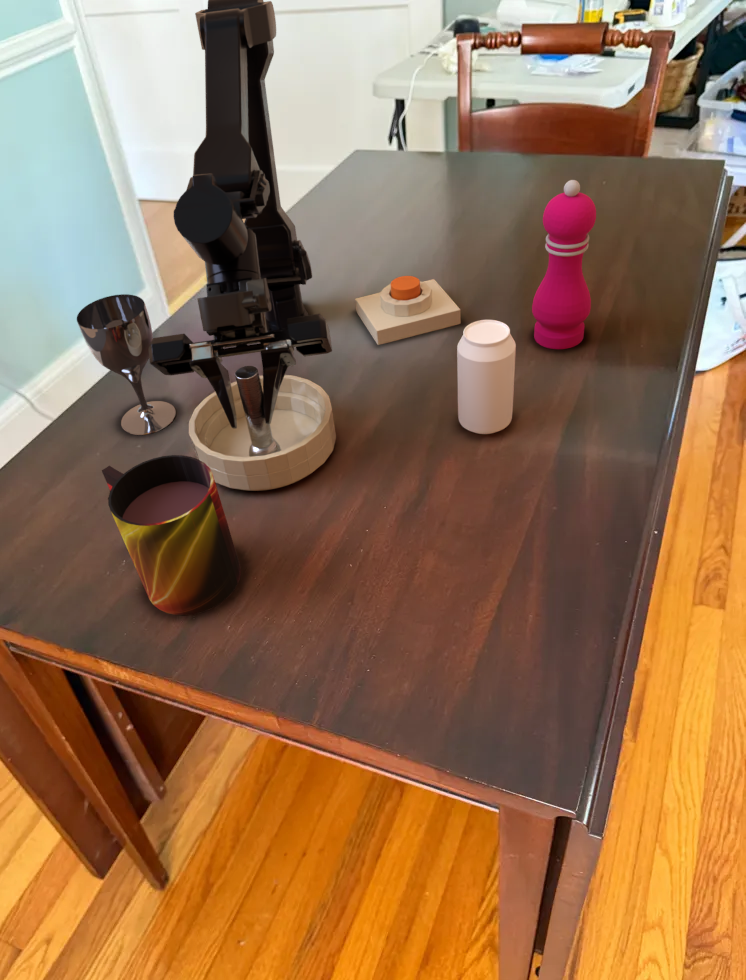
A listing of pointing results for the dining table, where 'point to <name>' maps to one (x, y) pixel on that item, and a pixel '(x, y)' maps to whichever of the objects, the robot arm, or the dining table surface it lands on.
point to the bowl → (294, 426)
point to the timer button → (405, 288)
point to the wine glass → (125, 353)
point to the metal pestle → (255, 412)
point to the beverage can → (485, 376)
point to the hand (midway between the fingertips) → (250, 425)
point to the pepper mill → (564, 270)
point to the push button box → (407, 313)
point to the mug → (175, 532)
